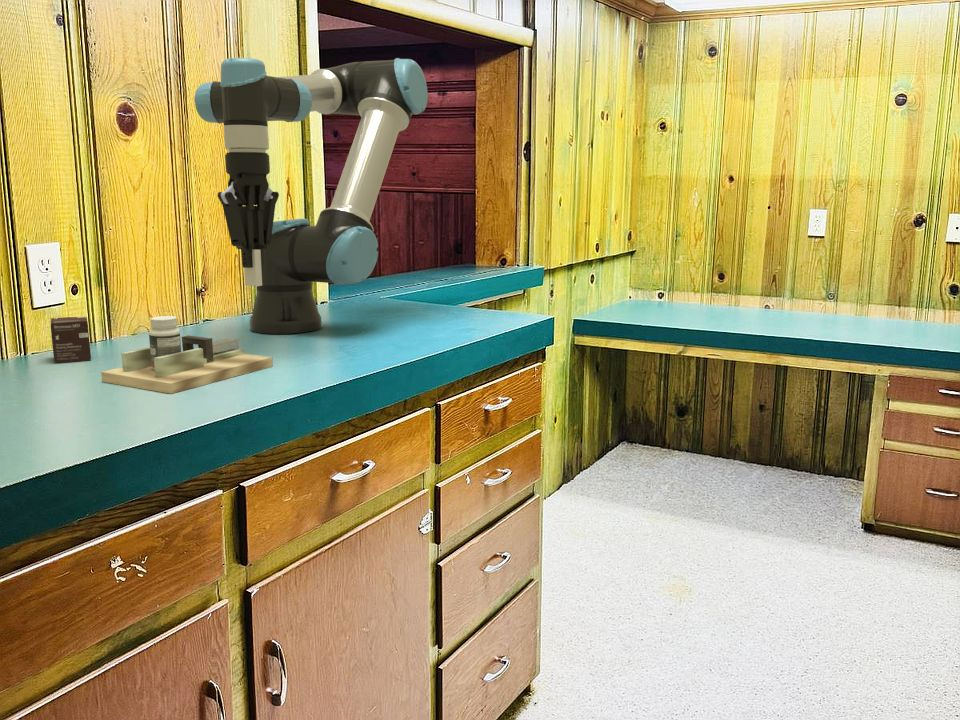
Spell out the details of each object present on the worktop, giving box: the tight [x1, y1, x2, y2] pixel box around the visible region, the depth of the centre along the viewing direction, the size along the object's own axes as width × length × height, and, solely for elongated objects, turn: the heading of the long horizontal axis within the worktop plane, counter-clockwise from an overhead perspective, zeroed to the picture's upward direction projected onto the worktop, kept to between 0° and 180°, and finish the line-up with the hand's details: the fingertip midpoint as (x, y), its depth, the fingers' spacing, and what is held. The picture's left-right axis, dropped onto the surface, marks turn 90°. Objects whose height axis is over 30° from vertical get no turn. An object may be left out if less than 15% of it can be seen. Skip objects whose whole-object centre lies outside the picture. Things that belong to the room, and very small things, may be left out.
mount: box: [100, 335, 274, 395], centre depth 142 cm, size 22×16×6 cm
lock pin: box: [197, 337, 240, 355], centre depth 149 cm, size 7×2×2 cm, turn 150°
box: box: [50, 316, 92, 364], centre depth 154 cm, size 6×6×7 cm
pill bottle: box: [148, 315, 182, 370], centre depth 139 cm, size 5×5×8 cm
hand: (253, 285), depth 155 cm, fingers closed
